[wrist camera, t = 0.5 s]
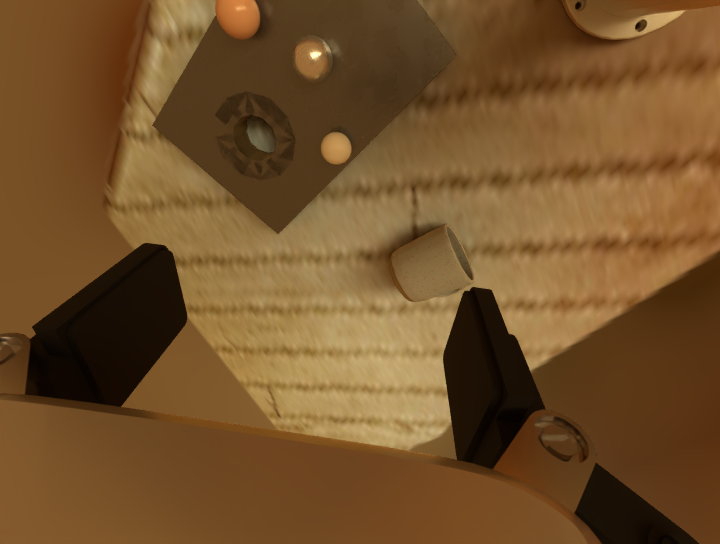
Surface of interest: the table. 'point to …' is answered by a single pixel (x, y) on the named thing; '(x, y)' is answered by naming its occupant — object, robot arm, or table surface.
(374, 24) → the grey metal slab
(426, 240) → the ceramic mug
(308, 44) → the steel ball
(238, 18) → the terracotta ball
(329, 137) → the cream ball
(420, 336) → the table surface
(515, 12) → the table surface
